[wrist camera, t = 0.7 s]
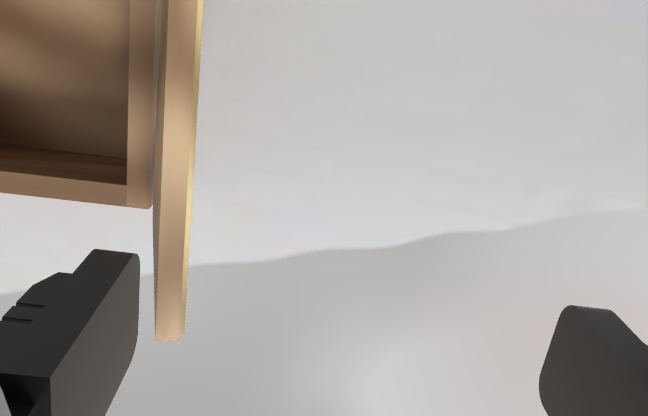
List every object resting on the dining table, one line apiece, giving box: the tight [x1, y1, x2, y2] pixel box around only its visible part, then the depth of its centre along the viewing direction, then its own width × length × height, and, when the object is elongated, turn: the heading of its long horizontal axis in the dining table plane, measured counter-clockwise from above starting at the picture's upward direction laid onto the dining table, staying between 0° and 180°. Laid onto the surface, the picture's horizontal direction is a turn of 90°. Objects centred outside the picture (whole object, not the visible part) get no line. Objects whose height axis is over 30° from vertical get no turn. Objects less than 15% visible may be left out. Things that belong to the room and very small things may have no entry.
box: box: [0, 0, 160, 209], centre depth 30 cm, size 16×12×6 cm
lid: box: [153, 0, 204, 341], centre depth 22 cm, size 17×12×1 cm
